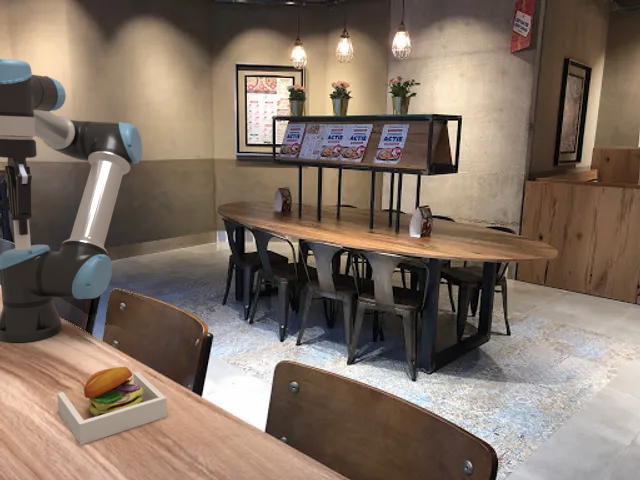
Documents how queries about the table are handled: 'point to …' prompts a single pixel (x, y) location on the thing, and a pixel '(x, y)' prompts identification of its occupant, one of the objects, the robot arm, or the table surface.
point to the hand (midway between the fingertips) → (23, 248)
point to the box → (114, 414)
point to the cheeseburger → (112, 391)
